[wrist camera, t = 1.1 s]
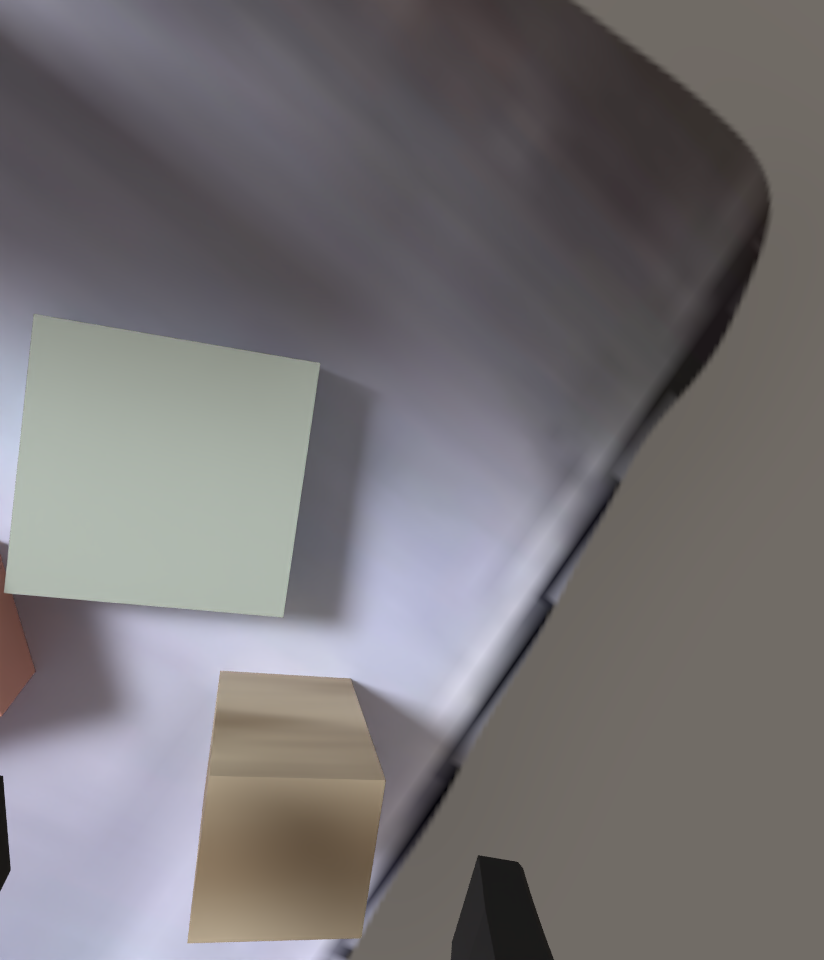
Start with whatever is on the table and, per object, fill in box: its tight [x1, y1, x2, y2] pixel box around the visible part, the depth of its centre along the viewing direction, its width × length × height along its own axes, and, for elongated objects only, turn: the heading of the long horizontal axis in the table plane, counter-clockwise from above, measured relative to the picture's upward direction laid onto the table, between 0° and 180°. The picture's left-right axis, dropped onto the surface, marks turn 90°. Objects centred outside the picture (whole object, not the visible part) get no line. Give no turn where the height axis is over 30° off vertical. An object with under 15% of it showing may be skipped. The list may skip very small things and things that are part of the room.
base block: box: [4, 314, 320, 617], centre depth 20 cm, size 7×7×2 cm
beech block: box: [187, 671, 386, 943], centre depth 19 cm, size 4×4×6 cm
